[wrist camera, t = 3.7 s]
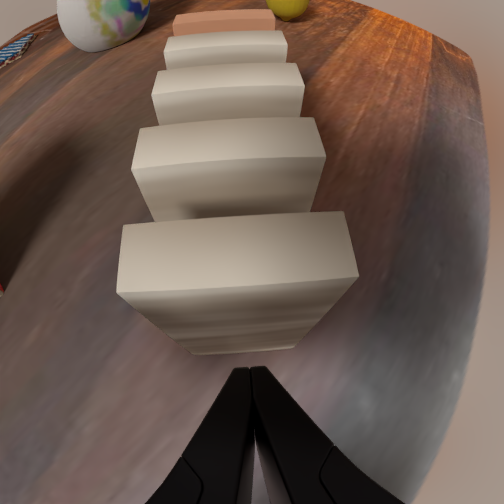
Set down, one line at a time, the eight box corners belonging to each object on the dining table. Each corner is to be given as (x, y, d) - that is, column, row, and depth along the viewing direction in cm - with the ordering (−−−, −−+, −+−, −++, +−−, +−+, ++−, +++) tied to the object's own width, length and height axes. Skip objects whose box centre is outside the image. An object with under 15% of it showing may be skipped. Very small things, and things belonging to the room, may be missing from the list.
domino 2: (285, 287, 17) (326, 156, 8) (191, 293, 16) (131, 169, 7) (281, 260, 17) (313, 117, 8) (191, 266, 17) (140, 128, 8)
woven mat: (-20, 83, 32) (-24, 76, 30) (-1, 58, 37) (-4, 51, 35) (21, 60, 33) (17, 51, 31) (38, 37, 38) (35, 30, 36)
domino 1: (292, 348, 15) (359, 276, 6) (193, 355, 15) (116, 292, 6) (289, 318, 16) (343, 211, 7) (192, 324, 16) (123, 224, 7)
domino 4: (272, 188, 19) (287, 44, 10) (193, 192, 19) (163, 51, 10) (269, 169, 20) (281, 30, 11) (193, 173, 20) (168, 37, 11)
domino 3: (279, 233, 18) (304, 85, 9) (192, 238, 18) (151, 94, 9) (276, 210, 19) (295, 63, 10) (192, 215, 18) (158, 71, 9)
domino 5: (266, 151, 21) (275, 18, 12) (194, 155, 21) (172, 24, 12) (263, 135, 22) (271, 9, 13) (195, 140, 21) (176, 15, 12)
